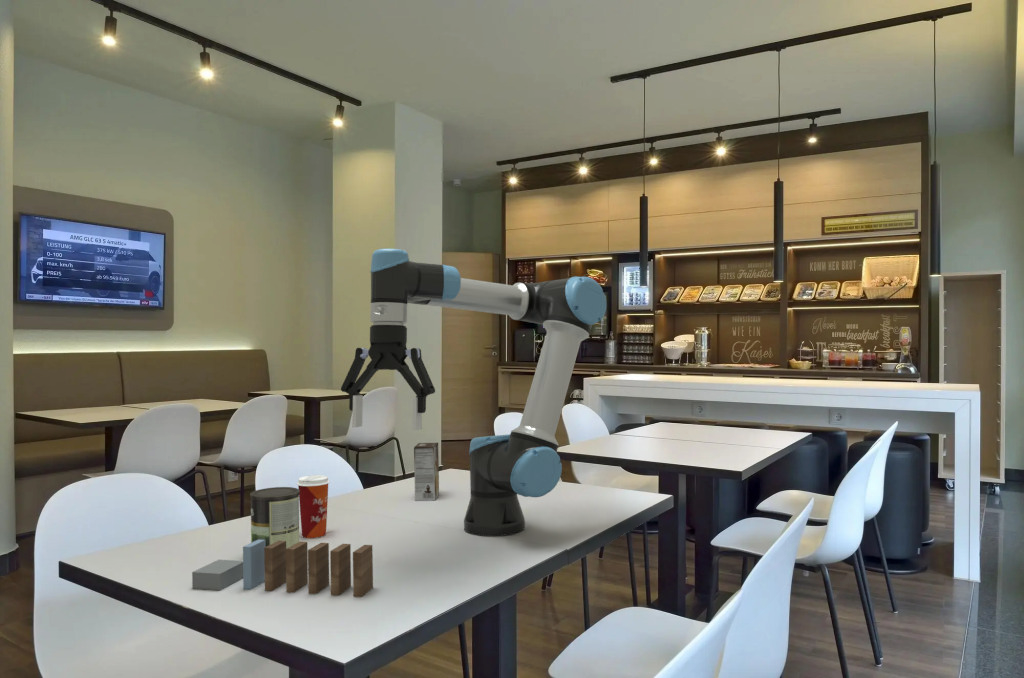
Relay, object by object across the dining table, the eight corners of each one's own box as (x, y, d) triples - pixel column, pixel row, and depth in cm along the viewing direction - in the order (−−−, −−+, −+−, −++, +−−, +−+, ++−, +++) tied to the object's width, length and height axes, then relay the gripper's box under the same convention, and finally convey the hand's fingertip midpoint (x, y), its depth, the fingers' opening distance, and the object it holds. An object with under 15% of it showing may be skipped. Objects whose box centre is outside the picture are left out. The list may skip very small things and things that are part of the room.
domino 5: (351, 586, 133) (350, 544, 133) (338, 595, 128) (338, 551, 128) (343, 585, 133) (342, 543, 133) (330, 594, 128) (330, 551, 128)
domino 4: (329, 584, 134) (328, 542, 134) (316, 593, 129) (315, 550, 129) (321, 584, 134) (321, 542, 134) (308, 593, 129) (307, 550, 129)
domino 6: (373, 587, 132) (372, 545, 132) (361, 596, 127) (360, 552, 127) (365, 587, 132) (364, 544, 132) (353, 596, 127) (352, 552, 127)
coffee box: (418, 494, 215) (418, 442, 216) (439, 494, 215) (438, 442, 216) (414, 501, 206) (413, 446, 207) (435, 500, 206) (435, 446, 206)
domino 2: (286, 582, 136) (286, 540, 136) (272, 591, 131) (271, 548, 131) (279, 581, 136) (278, 540, 136) (264, 590, 131) (264, 547, 131)
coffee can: (244, 564, 148) (244, 497, 148) (258, 550, 158) (257, 487, 158) (294, 561, 149) (293, 495, 149) (304, 548, 159) (304, 486, 159)
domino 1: (265, 580, 136) (265, 539, 137) (251, 589, 132) (250, 547, 132) (258, 580, 137) (258, 539, 137) (243, 589, 132) (242, 546, 132)
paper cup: (321, 540, 165) (320, 480, 165) (291, 538, 167) (290, 480, 167) (336, 531, 173) (335, 474, 173) (307, 530, 174) (306, 474, 175)
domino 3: (307, 583, 135) (307, 541, 135) (294, 592, 130) (293, 549, 130) (300, 583, 135) (299, 541, 135) (286, 591, 130) (286, 548, 130)
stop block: (245, 576, 139) (245, 561, 139) (220, 590, 131) (220, 573, 131) (218, 574, 140) (218, 559, 141) (192, 588, 133) (192, 572, 133)
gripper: (325, 323, 144) (323, 427, 143) (437, 323, 136) (435, 432, 136) (344, 325, 151) (342, 424, 150) (451, 325, 143) (450, 428, 143)
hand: (386, 428), depth 143 cm, fingers open, 13 cm apart
